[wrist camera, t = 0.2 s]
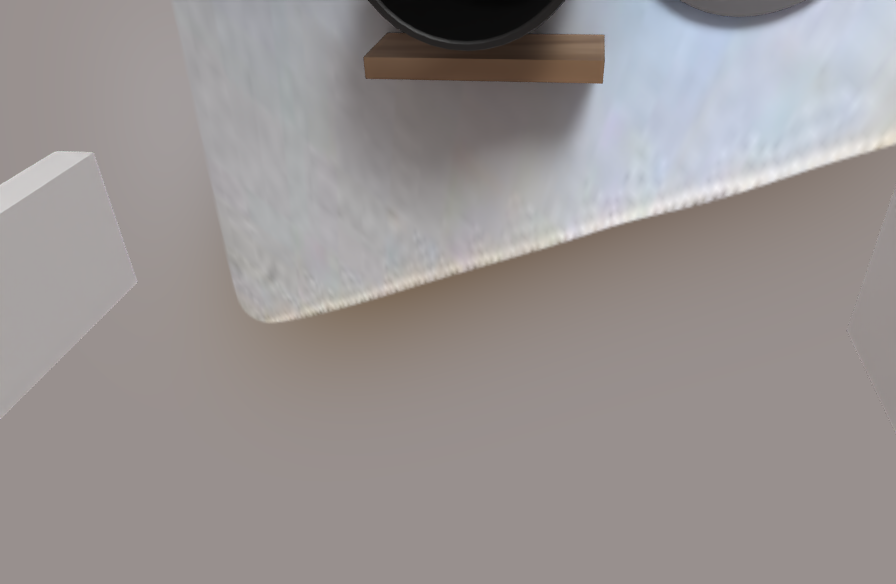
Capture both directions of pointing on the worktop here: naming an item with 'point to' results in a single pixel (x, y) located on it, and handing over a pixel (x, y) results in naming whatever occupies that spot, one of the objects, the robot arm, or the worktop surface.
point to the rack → (491, 60)
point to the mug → (466, 20)
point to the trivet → (741, 6)
